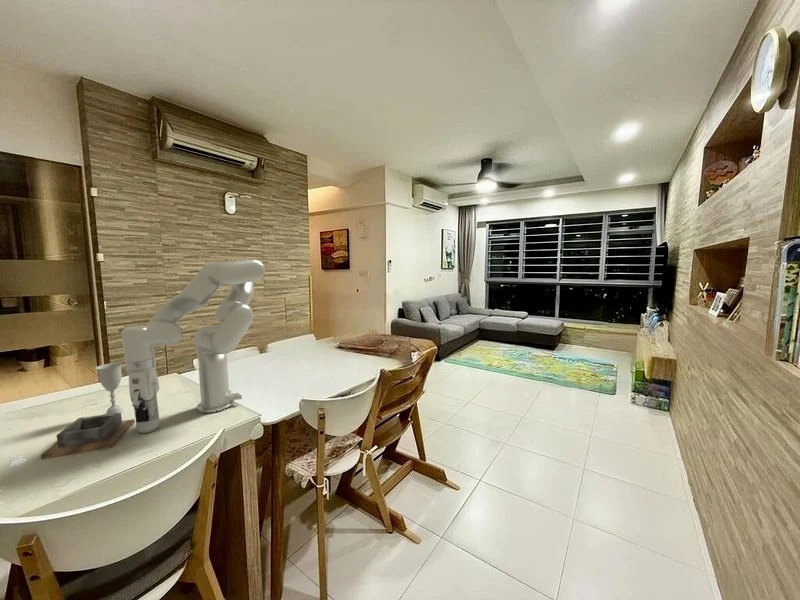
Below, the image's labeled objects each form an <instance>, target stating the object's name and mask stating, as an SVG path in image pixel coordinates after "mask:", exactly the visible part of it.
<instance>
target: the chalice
mask: <svg viewBox="0 0 800 600" xmlns="http://www.w3.org/2000/svg"><path fill="white" fill-rule="evenodd" d="M122 365H123V363H122V362H111V363H106V364H101V365H98V366H96V367H95V369H96V370H97V372H98V381H99V383H100V384H101V386H102V387H103V388H104V389H105V391H107V392H109V393H110V394H109V397H110V400H109V402H110V403H111V406H110V407H108V408H107V411H106V412H105V415H106V414H114V413H121V414H122V413H123V412H124V409H123V407H121V406H120V405H119V404H118V405H117V404H116V401H117V399H116V398H115V397H116V394H115V390H117V389H118V387H119V385H120V383H121V382H122V381H121V380H122V375H123V374H122Z"/></svg>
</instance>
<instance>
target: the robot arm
mask: <svg viewBox="0 0 800 600" xmlns="http://www.w3.org/2000/svg"><path fill="white" fill-rule="evenodd" d="M265 274H266V267H265V265H264V264H263V263H262V262H261V261H260V260H258V259H250V258H248V259H247V258H245V259H244V258H242V259H236V260H234V261H228V262H227V261H226V262H224V261H219V262H218V261H212V262H208V263H206V264H204V265H203V266H202V267H201V269H200V270H199V271H198V272H196V274H195V275H194V277H193V278H192V279H191V280H190V281H189V282H188V284H187V285H186V286H185V287H184V288H183V289H182V291H180V292H179V293H178V294H177V295H175V296H174V297H173V298H172V299H170V300H169V301H168V302H166V303H165V304H164V305H163V306H162V307H161V308H160V309H158V310H157V312H156V313H155V314H154V315H153V317H151V319H150V320H149V321H148V322H147V324H146V325H145V324H141V325H133V326H127V327H125V328H123V329H122V331H121V339H122V340H121V342H122V348H123V356H124V357H123V358H124V365H125V371H126V373H128V389H129V397H130V400H131V402H132V404H131V405H132V406H131V407H133V410H134V409H135V411H134V414H135V413H136V419H135V422H136V421H137V423H139V422H145V421H149V412H148V409H146V408H147V401H149V400H150V399H151V398H152V397H153V396H154V392H153V391H154V389H155V388H156V394H157V393H158V392H159V391H160V382H159V377H158V373H157V368H156V366H157V363H156V356H155V347H160V346H171V345H174V344H176V343H178V342H180V340H182V338H183V337H184V336H183V335H184V331H183V328H182V327H181V326H180V325H179V324H177V323H178V322H180V321H181V320H182V318H183V317H186V316H187V315H188V314H189V313H192V312H194V311H196V310H199V309H201V308H202V307H203V308H204V307H205V306H206V304H207V303H208V301H210V300H211V298H212V296H214V294H215V293H216V292H217V290H218V289H219V288H220V287H221V286H226V287H227V286H231V288H230V290H229V292H228V293H227V295H226V296H225V298H224V299H223V300H222V301H221V302H220V304H219V306H218V307H217V308H216V310H215V312H214V319H215V321H216V322H217V323H218V324H219V325H213V324H208V325H207V324H206V325H204V326H201V327H200V328H199V329H198V330H197V331H196V332H195V335H194V336H193V337H194V338H193V343H194V348H195V351H196V355H197V356H196V357H197V362H198V377H199V380H198V381H199V390H200V391H199V392H200V402H198V404H197V406H196V411H197V412H199V413H203V414H205V413H206V414H210V413H211V412H212V413H217V412H216V411H218V412H221V411H224V410H226V409H225V408H227V409H229V408H230V407H232V406H233V405H234V404H233V403H235V401H237V400H242V399H243V394H241V393H240V392H236V393H233V392H232V390H231V389H230V386H229V385H230V384H229V368H228V357H227V355H228V354H230V353H231V352H232V351H234V350H235V349H236V348H237V347H238V345H239V343H240V342H241V340H242V339H243V337H244V336H245V334H246V333H247V332H248V329H249V328H250V326H252V325H251V324H252V322H253V319H254V312H253V309H252V308H251V307H250V306H249V304H250V302H251V300H252V299H253V297H254V293H255V286H254V282H257V281H260V280H261V279H262V278H263V277H264V276H265ZM140 398H143V399H144V400H140ZM139 402H143V405H142V404H140V403H139ZM232 404H233V405H232ZM231 405H232V406H231ZM229 406H230V407H229ZM228 407H229V408H228ZM223 409H224V410H223ZM220 410H221V411H220ZM212 413H211V414H212Z"/></svg>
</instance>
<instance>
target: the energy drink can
mask: <svg viewBox="0 0 800 600" xmlns="http://www.w3.org/2000/svg"><path fill="white" fill-rule="evenodd" d="M153 392H154V396H153V397H152V398H151V399H150V400H149V401H147V408H146V409H148V412H149V421H145V422H139V423H137V421H136V413H135V409H134V408H133V410H134V411H133V412H134V416H135V418H134V419H135V425H136V431H138V432H139V433H140V434H147V433H151V432H154V431H155V430H157V429H158V428H159V426H160V424H161V421H160V414H159V405H158V397H157V393H156V388H155V389H154V391H153ZM140 400H144V399H143V398H140ZM139 403H140V404H142V405H143V402H139Z"/></svg>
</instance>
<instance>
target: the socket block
mask: <svg viewBox="0 0 800 600" xmlns="http://www.w3.org/2000/svg"><path fill="white" fill-rule="evenodd" d="M134 424H136V419H135V418H133V419H127V420H122V413H114V414H106V413H105V414H101V415H99V414H98V415H93V416H82V417H78V418H77V419H76V420H74V421H73V422H72V423H70V424H69V425H68V426H66V427H65V428H64V429H63V430H61V431H60V432H59V433H58V434H56V442H55V443H53V444H52V445H51V446H50V447H48V449H46V450H45V451H43V452H42V453H41V454H40V458H41V459H47V458H48V459H49V458H54V457H60V456H67V455H75V454H79V453H87V452H92V451H98V450H105V449H106V450H107V449H110V448H113V447H114V446H115V445H116V443H117V442H119V440H120V439H121V438H122V437H124V435H125V434H126V433H127V431H128V430H129V429H130V428H131V427H132V426H133V425H134Z"/></svg>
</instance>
